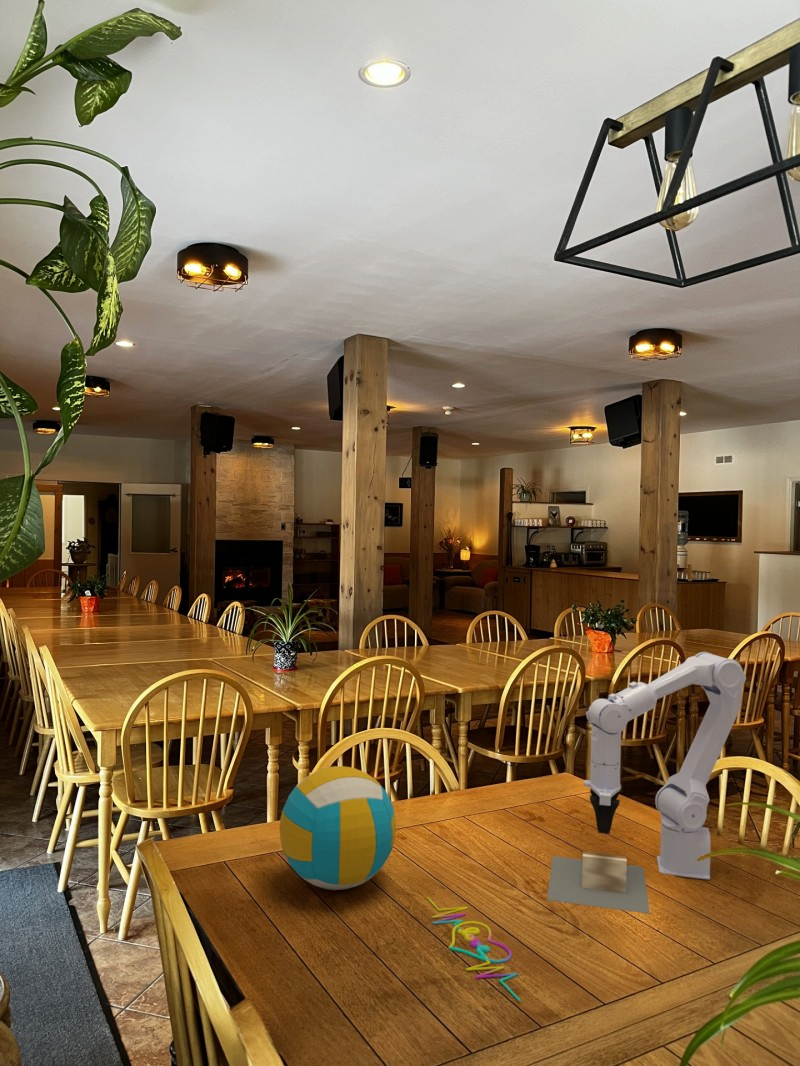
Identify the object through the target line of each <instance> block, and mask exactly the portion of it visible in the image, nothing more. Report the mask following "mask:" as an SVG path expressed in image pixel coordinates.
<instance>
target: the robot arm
mask: <svg viewBox="0 0 800 1066" xmlns="http://www.w3.org/2000/svg"><path fill="white" fill-rule="evenodd" d="M746 680H747V677H746V674H745V672H744V669H743V667H742V665H741V664H740V662H738V661H737V660H735V659H733V658H726V657H724V656H719V655H715V654H713V653H711V652H708V651H702V652H698V653H696V654H695V655H693V656H689V657H688V658H686V660H685V661H684V662H682V663H681V664H680V665H678V666H676V667H675V668H673V669H671V670H669V671H668V672H666V673H665V674H662V675H661V676H659V677H657V678H656V679H654V680H653V681H650V682H649V683H646V682H643V681H638V682H636V681H632V682H630V683H628V687H626V688H624V689H623V690H621V691H619V692H617V693H611V694H609V695H608V697H607V698H597V699H595V700H594V701H592V702H591V705H590V706H589V707H588V710H587V711H586V712H585V713H586V719H587V720H588V722H589V723H590V725H591V733H590V735H591V737H590V766H589V767H590V771H589V773H590V775H589V776H590V777H589V779H585V780H584V781H583V786H584V787H587V788H589V792H590V795H589V801H590V804H591V807H592V808H593V811H594V815H595V821H596V827H597V832H598V833H599V834H603V835H604V834H605V835H609V834H610V833H611V830H612V824H613V819H614V816H615V813H616V810H617V809H618V807H619V805H620V799H619V798H618V797H619V795H620V790H621V789H622V784H621V754H622V752H621V751H622V750H621V749H622V748H621V747H622V732H623V731H624V729H626V727H627V724H628V722H630V721H632V720H633V719H635V718H638V717H639V716H641V715H643V714H644V713H647V712H649V711H651V710H653V709H654V708H656V706H657V700H658V699H662V698H663V697H665V696H668V695H671V694H672V693H675V692H676V691H677V692H678V691H679V690H682V689H683V688H686V687H688V686H690V685H697V686H701V688H702V690H704V692H705V694H706V696H707V698H708V700H709V705H708V707H707V710H706V712H705V714H704V716H703V718H702V721H701V723H700V724H699V725H700V726H698V727H699V728H698V729H697V732H696V735H695V737H694V738H693V741H692V742H691V745H690V747H689V750H688V752H687V754H686V756H685V758H684V760H683V762H682V765H681V767H680V770H679V771H678V772H677V773H675V774H673V775H671V776H670V777H668V778H667V781H666V783H665V784H664V786H662V787H660V789H659V790H658V791H657V793H656V795H655V800H654V801H655V806H656V809H657V811H658V812H659V813H660V819H661V820H660V822H661V823H660V853H659V855H658V856H656V860H657V866H658V867H657V868H658V872H659V873H660V874H664V875H673V876H675V877H676V876H677V877H683V878H690V879H691V878H692V879H699V880H700V879H701V880H711V876H710V875H711V857H710V858H707V859H704V860H701V861H697V859H698V858H700V857H701V856H704V855H706V854H708V853H710V854H711V833H710V832H711V831H710V829H709V828H708V827H704V824H705V822H706V820H707V815H708V814H707V813H708V812H707V809H708V804H709V803H710V797H709V793H708V791H707V784H708V781H709V779H710V777H711V775H712V772H713V770H714V768H715V765H716V763H717V762H718V759H719V757H720V755H721V752H722V751H723V747H724V746H725V743H726V741H727V739H728V737H729V734H730V732H731V731H732V727H733V725H734V723H735V721H736V720H737V717H738V714H739V713H740V711H741V707H742V697H743V696H742V691H743V686H744V684H745V682H746Z"/></svg>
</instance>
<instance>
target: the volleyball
mask: <svg viewBox="0 0 800 1066" xmlns="http://www.w3.org/2000/svg"><path fill="white" fill-rule="evenodd" d="M396 819H397V818H396V812H395V809H394V805H393V804H392V800H391V799H390V797H389V794H388V792H387V791H386V790H385V789H384V787H383V786H382V785H381V783H380V782H378V780H376V779H375V778H374V777H373V776H371V775H369V774H368V773H367V772H364V771H362V770H359V769H357V768H355V767H350V766H343V765H337V766H328V767H325V768H322V769H319V770H315V772H313V773H312V774H310V775H307V776H306V777H304V778H303V779H302V780H301V781H299V783H298V784H296V786H295V787H294V788H293V789H292V790H291V792H290V794H289V795H288V798H287V800H286V802H285V804H284V806H283V809H282V811H281V816H280V820H279V837H280V838H279V839H280V843H281V848H282V852H283V853H284V855H285V857H286V859H287V861H288V864H289V865H290V867H291V868H292V869H293V870H294V871H295V873H296V874H297V875H298V876H299V877H300V878H302V879H303V880H305V881H306V882H308V883H309V884H312V885H313V886H315V887H318V888H322V889H325V890H331V891H338V890H348V889H351V888H356V887H358V886H361V885H363V884H364V883H366V882H367V881H369V880H370V879H372V878H373V877H374V876H375V875H376V874H377V873H378V872H379V871H380V870H381V869H382V868H383V867H384V865H385V863H386V862H387V860H388V858H389V857H390V855H391V852H392V850H393V848H394V845H395V841H396V835H397V834H396V831H397V821H396Z"/></svg>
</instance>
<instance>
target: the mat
mask: <svg viewBox="0 0 800 1066" xmlns="http://www.w3.org/2000/svg"><path fill="white" fill-rule="evenodd" d="M582 871H583V858H581V859H579V858H573V857H572V858H571V857H564V856H555V855H552V859H551V866H550V874H549V881H548V887H547V888H548V889H547V898H546V900H547V901H549V902H550V901H551V902H559V903H565V904H566V903H567V904H571V905H572V904H574V905H582V906H588V907H596V908H603V909H604V908H605V909H610V910H620V911H627V912H635V913H641V914H649V915H650V906H649V899H648V891H647V886H646V885H647V884H646V878H645V877H646V875H645V871H644V866H640V865H639V866H638V865H631V864H627V869H626V893H621V892H614V891H606V890H598V889H590V888H582Z"/></svg>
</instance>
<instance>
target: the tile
mask: <svg viewBox="0 0 800 1066" xmlns="http://www.w3.org/2000/svg"><path fill="white" fill-rule="evenodd" d="M582 860H583V871H582V888H590V889H598V890H606V891H614V892H621V893H626V869H627V865H628V864H627V863H628V861H627V860H628V859H627V856H621V855H613V854H603V853H597V852H596V853H595V852H586V851H582Z"/></svg>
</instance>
